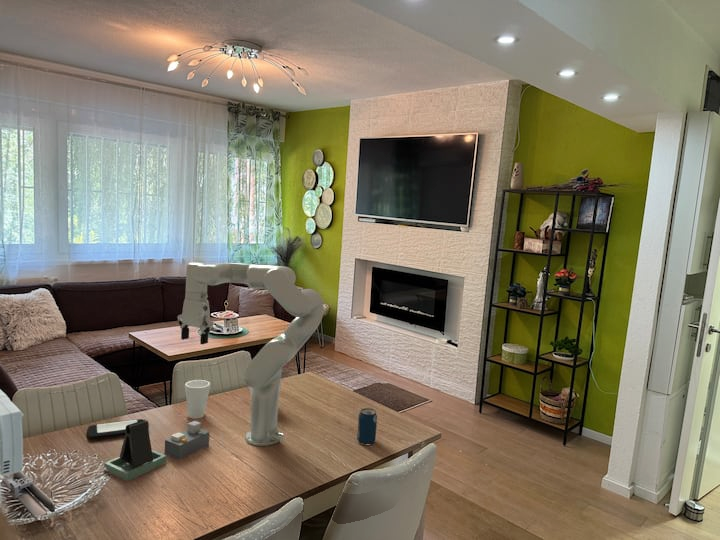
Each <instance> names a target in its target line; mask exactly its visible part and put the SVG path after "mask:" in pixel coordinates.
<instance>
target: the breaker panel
mask: <svg viewBox="0 0 720 540" xmlns="http://www.w3.org/2000/svg"><path fill="white" fill-rule="evenodd" d="M180 433H182V434H184V435H185V438H183V439H182V440H181V441H179V442H176V441H173V440H171V436H170V437H168V438H166V439H164V453H163V454H164V455H166V456H168V457H171V458H173V459H176V460H178V461H180V460H183V459H184V458H187V457H189V456H190V455H192V454H194V453H196V452H199V451H200V450H203V449H204V448H207V447H209V446H210V431H207V430H206V429H202V428H200V431H198V433H196V434H194V435H193V434H190V433H188V429H186V430H183V431H182V432H180Z"/></svg>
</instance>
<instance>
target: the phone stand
mask: <svg viewBox="0 0 720 540" xmlns="http://www.w3.org/2000/svg"><path fill="white" fill-rule="evenodd" d="M149 425H150V423H149V420H146V419H143V420H142V421H139V422H136V423H133V424H129V425H127V426H126V434H125V436H124V438H123V442H122V446H121V450H120V453H119V456H120V458H121V459H122V460H124V461H126V462H128V463H129V464H130V465H132V466H133V467H137V466H140V465H142V464H145V463H147V462H150V461H152V460H153V455H152V450H153V449H152V445H151V438H150V432H149V431H150V430H149V428H150V426H149Z"/></svg>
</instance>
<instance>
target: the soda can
mask: <svg viewBox="0 0 720 540" xmlns="http://www.w3.org/2000/svg"><path fill="white" fill-rule="evenodd" d="M357 419H358V421H357V422H358V423H357V433H356V434H357V435H356V440H357V441H359V442H360V443H363V444H372V443H373V444H374V443H375V441H376V436H377V423H378V415H377V411H376V410H375V409H373V408H362V409H361V410H360V412H359V414H358V418H357ZM359 442H358V443H359ZM360 443H359V444H360ZM373 444H372V445H373Z"/></svg>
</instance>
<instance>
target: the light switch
mask: <svg viewBox="0 0 720 540" xmlns="http://www.w3.org/2000/svg"><path fill="white" fill-rule="evenodd" d="M142 420H144V419H142V418H140V419H139V418H138V419H130V420H129V419H128V420H119V421H114V422H113V421H112V422H111V421H110V422H105V423H104V422H103V423H98V424H91V425H89V426H88V428H87V430H86V437H87V438H88V440H100V439H109V438H118V437H123V436H124V437H125V434H126V426H127V425H129V424H133V423H136V422H139V421H142Z"/></svg>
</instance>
